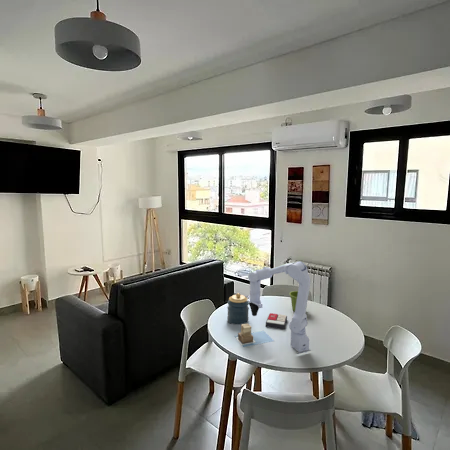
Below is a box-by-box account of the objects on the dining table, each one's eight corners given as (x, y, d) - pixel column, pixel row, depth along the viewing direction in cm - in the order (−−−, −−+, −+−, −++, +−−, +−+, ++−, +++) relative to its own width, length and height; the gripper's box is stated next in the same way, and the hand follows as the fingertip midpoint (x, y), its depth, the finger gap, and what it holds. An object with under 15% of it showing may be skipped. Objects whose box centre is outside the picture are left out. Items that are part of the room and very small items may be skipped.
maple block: (251, 335, 158) (251, 326, 157) (244, 337, 156) (244, 327, 155) (247, 332, 161) (248, 323, 161) (241, 333, 160) (241, 324, 159)
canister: (225, 324, 179) (225, 296, 176) (229, 315, 191) (230, 288, 189) (246, 327, 176) (247, 298, 173) (250, 317, 188) (250, 290, 186)
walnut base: (253, 341, 157) (253, 336, 157) (242, 343, 155) (242, 338, 155) (248, 336, 163) (248, 331, 162) (238, 338, 161) (238, 332, 160)
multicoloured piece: (287, 314, 185) (284, 324, 171) (286, 321, 186) (284, 331, 172) (269, 312, 189) (265, 321, 174) (269, 319, 189) (265, 328, 175)
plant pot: (285, 308, 203) (285, 292, 201) (299, 305, 208) (299, 290, 206) (296, 315, 192) (297, 298, 191) (310, 312, 197) (311, 295, 196)
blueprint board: (274, 342, 159) (274, 340, 158) (243, 348, 152) (243, 346, 152) (263, 332, 170) (263, 330, 170) (234, 337, 163) (234, 335, 163)
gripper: (243, 288, 172) (242, 311, 174) (254, 297, 158) (253, 322, 160) (254, 287, 174) (253, 309, 176) (266, 296, 161) (265, 320, 163)
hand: (254, 315), depth 168 cm, fingers closed
